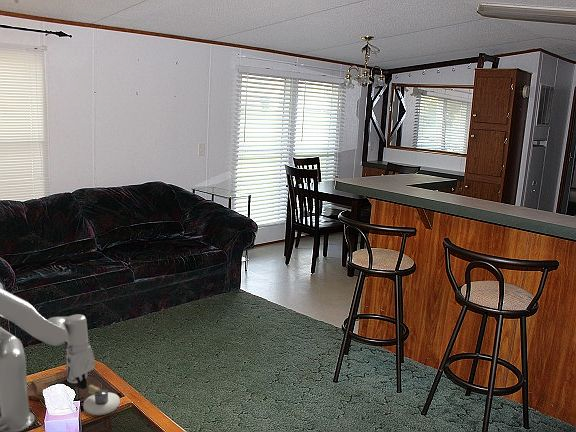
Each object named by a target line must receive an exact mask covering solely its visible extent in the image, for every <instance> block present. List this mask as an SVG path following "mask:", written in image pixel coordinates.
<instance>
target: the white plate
mask: <svg viewBox="0 0 576 432" xmlns="http://www.w3.org/2000/svg"><path fill="white" fill-rule="evenodd" d="M119 404H121V401H120V396H119V395H118V394H116V393H114V392H109V391H108V402H107V403H106V404H103V405H97V404H96V403H95V396H94V395H92V394H91V395H90V396H88V397H87V398H86V399H85V400H84V401H83V411H84V412H85V413H86V414H88V415H91V416H103V415H108V414H110V413H112V412H115V411H116V410H117V409H118V408H119V407H120V405H119ZM118 406H119V407H118ZM117 407H118V408H117Z"/></svg>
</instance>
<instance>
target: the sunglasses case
mask: <svg viewBox="0 0 576 432" xmlns="http://www.w3.org/2000/svg"><path fill="white" fill-rule="evenodd" d="M50 386H51V385H49V384H43V383H37V382H34V381H31V383H30V384H29V385H28V386H27V388H28V398H33V399H36V400H35V401H38V400H41V401H40V402H42V401H44V398H43V393H42V391H43V389H46V388H48V387H50ZM33 399H32V400H33Z"/></svg>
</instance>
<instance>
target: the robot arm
mask: <svg viewBox="0 0 576 432" xmlns="http://www.w3.org/2000/svg"><path fill="white" fill-rule="evenodd" d="M0 317H1V318H3V319H6V320H8V321H10V322H11V323H14V324H15V325H17V326H18V327H19V328H20V329H21V330H23V331H25V332H26V333H28V335H30V336H32V337H33V338H35V339H37V340H38V341H41V342H43V343H45V344H46V345H49V346H53V347H58V346H62V345H64V344H65V342H66V340H67V341H68V348H67V349H66V351H67V357H66V361H67V362H66V364H67V367H66V368H67V370H66V373H68V375H69V380H74V379H77V383H76V384H77V387H78V388H79V389H81V390H85V389H86V388H87V387H88V386H87V379H88V375H89V373H90V372H91V371H92V370H94V369H95V367H96V363H95V362H96V361H95V358H94V357H95V355H94V352H93V349H92V346H91V345H90V343H89V334H88V323H87V318H86V316H85V315H84V314H82V313H81V314H79V313H78V314H77V313H76V314H72V315H69V316H53V317H49V318H48V319H46V318H45V317H44V316H42V315H41V314H40V313H39V312H38V311H37V310H36V308H35V307H34V306H33V305H32V304H31V303H29V301H27V300H25V299H23V298H21V297H19V296H17V295H14V294H13V293H11V292H9V291H7V290H5V289H4V285H3V284H2V282H0ZM86 378H87V379H86ZM29 401H30V399H28V379H27V361H26V354H25V350H24V346H23V343H22V341H21V340H20V338H18V337H17V336H15V335H13V334H12V333H10V332H9V331H7V330H6V329H5V328H3V327H2V326H0V415H1V416H0V432H22V431H25V430H27V429H28V428H29V426H30V427H31V426H32V425H33V424H34V423H35V418H36V417H35V415H34V413H33V412H30V403H29ZM33 422H34V423H33ZM26 428H27V429H26ZM24 429H25V430H24Z"/></svg>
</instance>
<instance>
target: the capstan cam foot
mask: <svg viewBox="0 0 576 432" xmlns="http://www.w3.org/2000/svg"><path fill="white" fill-rule="evenodd" d="M87 387H88V389H87V390H88V394H91V396H92V395H94V396H95V403H96V404H97V405H103V404H106V403H107V402H108V392H109V391H108V390H107V389H101V388H100V387H98V386H96V385H94V384H89V385H88V386H87Z"/></svg>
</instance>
